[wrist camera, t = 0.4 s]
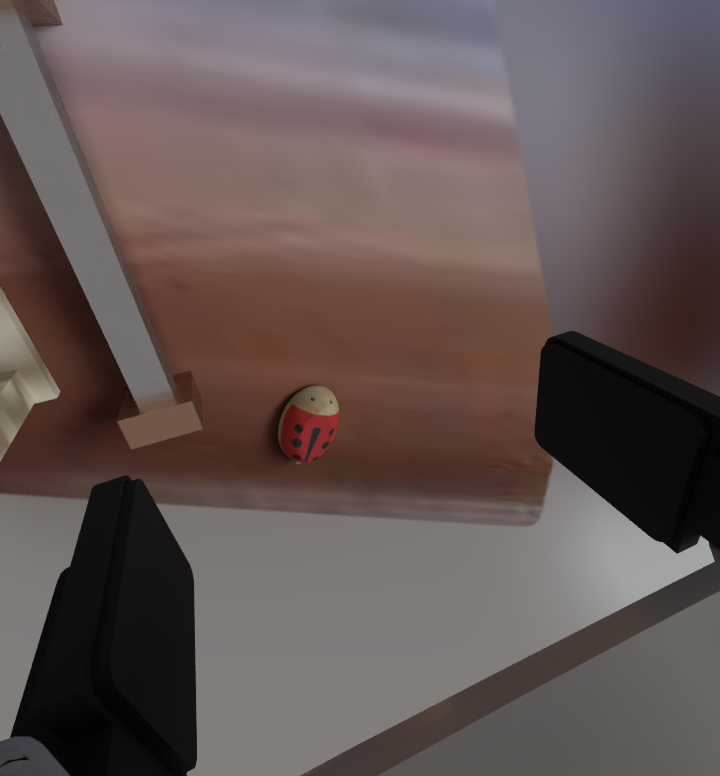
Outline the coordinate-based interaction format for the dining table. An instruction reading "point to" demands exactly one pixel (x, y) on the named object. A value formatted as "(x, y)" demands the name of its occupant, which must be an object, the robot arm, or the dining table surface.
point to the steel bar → (87, 230)
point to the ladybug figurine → (308, 424)
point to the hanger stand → (19, 375)
